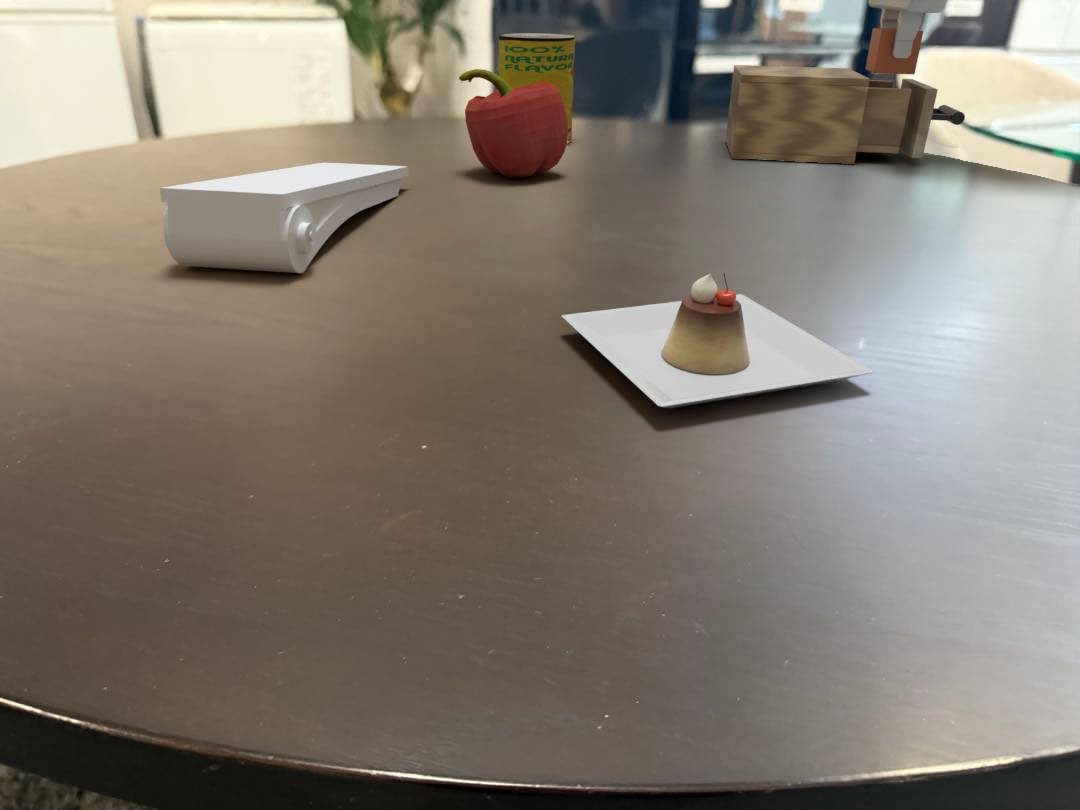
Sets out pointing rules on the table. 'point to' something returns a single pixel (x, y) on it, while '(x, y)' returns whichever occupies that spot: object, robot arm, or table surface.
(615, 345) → the dessert
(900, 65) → the block
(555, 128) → the vegetable
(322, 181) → the wall bracket
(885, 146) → the drawer
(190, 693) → the table surface
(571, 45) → the beverage can
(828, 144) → the cabinet
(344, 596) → the table surface
